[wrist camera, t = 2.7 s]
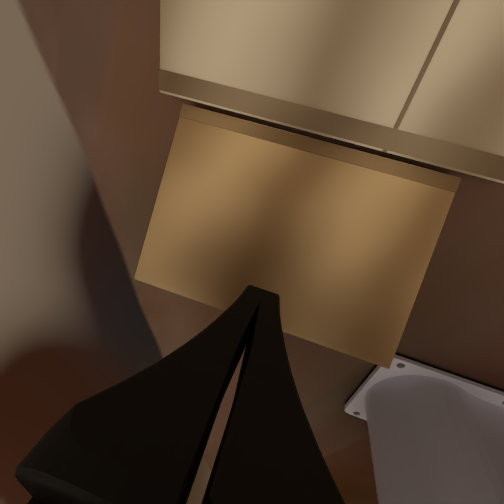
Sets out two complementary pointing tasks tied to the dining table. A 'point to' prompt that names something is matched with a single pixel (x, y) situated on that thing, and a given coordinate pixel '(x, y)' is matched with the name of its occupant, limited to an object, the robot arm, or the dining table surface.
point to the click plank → (295, 230)
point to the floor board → (350, 71)
